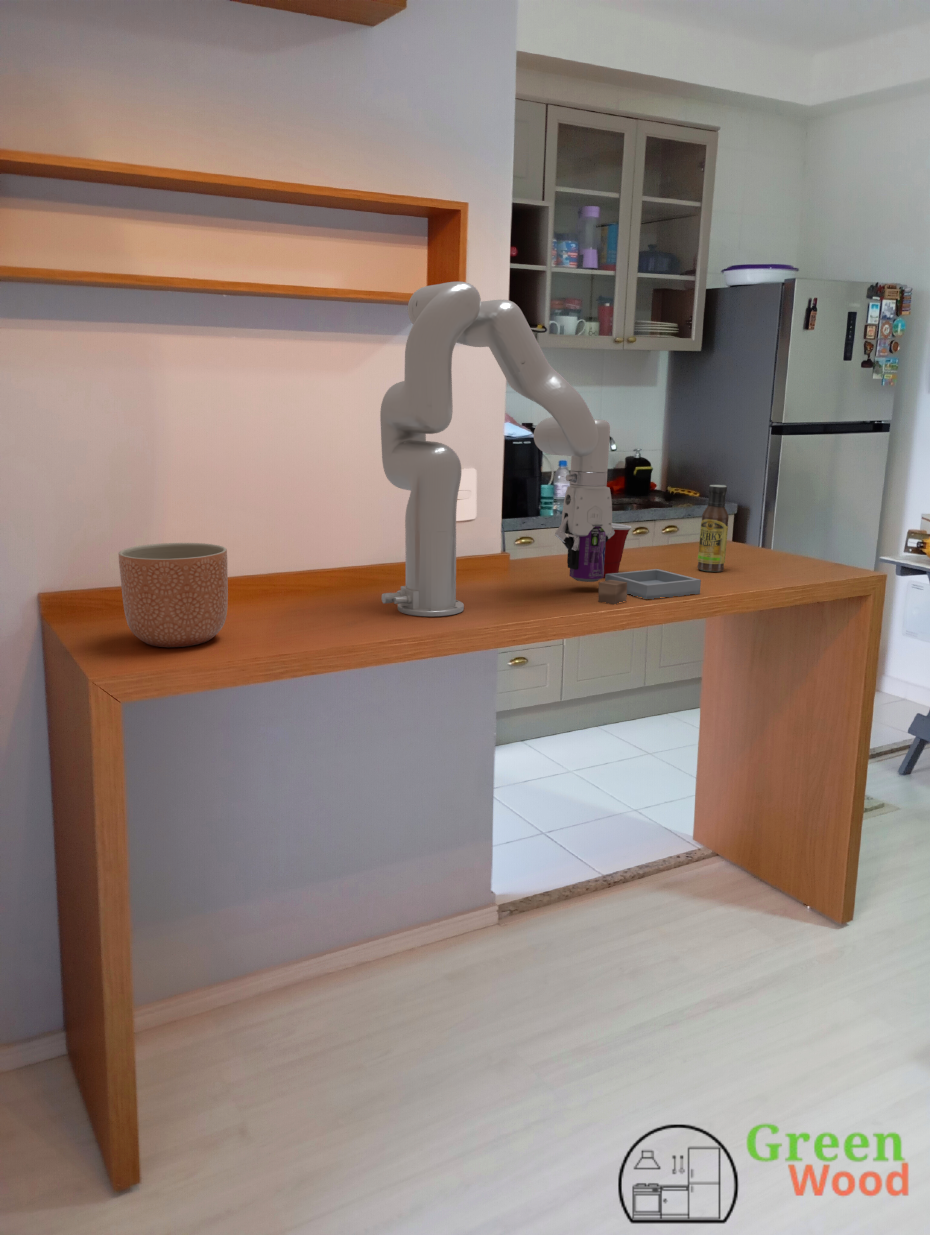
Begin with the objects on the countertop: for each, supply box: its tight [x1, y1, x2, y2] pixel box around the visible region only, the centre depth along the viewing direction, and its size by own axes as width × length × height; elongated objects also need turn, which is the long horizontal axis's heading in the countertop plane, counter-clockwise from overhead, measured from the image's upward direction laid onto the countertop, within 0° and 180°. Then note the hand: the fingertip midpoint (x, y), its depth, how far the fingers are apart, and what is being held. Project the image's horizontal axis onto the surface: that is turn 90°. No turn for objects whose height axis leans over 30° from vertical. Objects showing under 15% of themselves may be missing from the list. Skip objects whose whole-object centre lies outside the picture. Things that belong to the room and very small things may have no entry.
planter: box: [118, 542, 229, 648], centre depth 166 cm, size 17×17×15 cm
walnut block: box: [597, 580, 627, 605], centre depth 200 cm, size 4×4×4 cm
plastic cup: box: [603, 522, 632, 578], centre depth 227 cm, size 11×11×12 cm
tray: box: [604, 568, 702, 600], centre depth 211 cm, size 14×14×3 cm
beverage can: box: [569, 524, 606, 583], centre depth 210 cm, size 7×7×12 cm
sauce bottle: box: [697, 484, 730, 573], centre depth 234 cm, size 6×6×20 cm
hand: (583, 567), depth 210 cm, fingers closed on beverage can, 4 cm apart
